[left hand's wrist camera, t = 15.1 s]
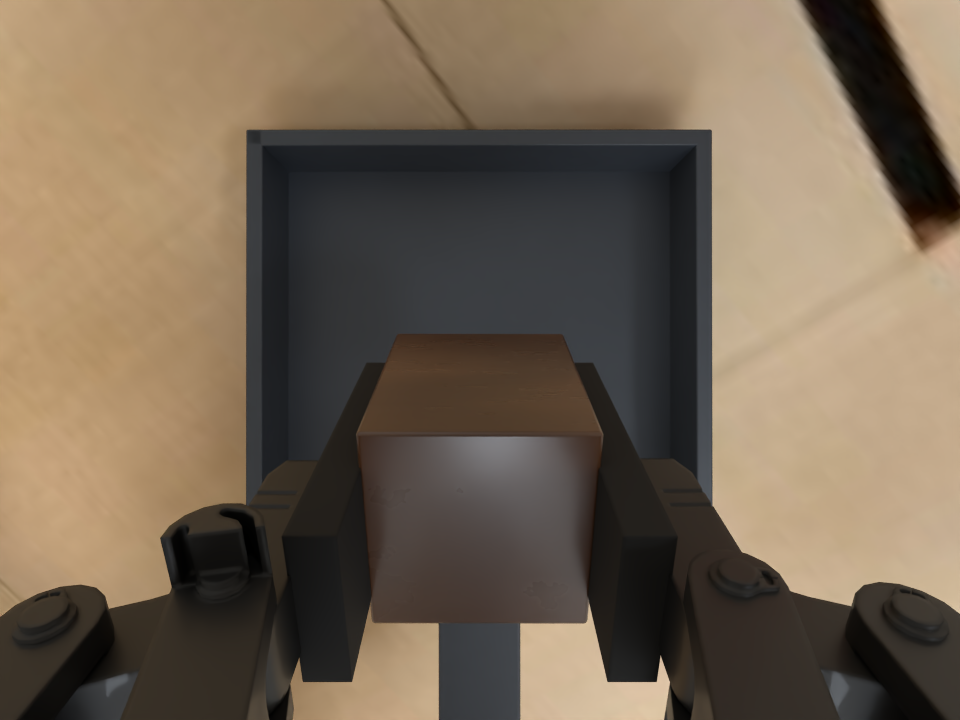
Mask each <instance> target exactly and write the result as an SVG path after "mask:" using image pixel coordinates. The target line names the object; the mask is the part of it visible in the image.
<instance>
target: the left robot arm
mask: <svg viewBox="0 0 960 720" xmlns="http://www.w3.org/2000/svg"><path fill="white" fill-rule="evenodd" d="M384 365H385V363H366V365H365V367H364V369H363V371H362V373H361V375H360V377H359V379H358V381H357V383H356V385H355V387H354V389H353V391H352V393H351V395H350V397H349V399H348V401H347V404H346V406H345V408H344V410H343V412H342V414H341V416H340V418H339V420H338V422H337V424H336V426H335V428H334V430H333V432H332V434H331V436H330V438H329V440H328V442H327V444H326V447H325V449H324V451H323V453H322V455H321V457H320V459H319V460H287V461H285V462H284V463H283V464H281V465H280V466H279V467H277V468H276V469H274V470H273V471H272V472H270V473H269V474H268V475H267V476H266V478H265V480H264V481H263V483H262V484H261V486H260V488H259V489H258V491H257V495H255V496H254V497H253V499H252V501H251V502H250V504H249V506H248V505H244V504H219V505H214V506H209V507H204V508H202V509H199V510H197V511H194V512H192V513H190V514H187V515H185V516H183V517H182V518H181V519H179V520H178V521H176V522H175V523H173V524H172V525H170V526H169V528H168V529H167V530H166V531H165V533H164V534H163V535H162V537H161V538H160V539H161V543H162V548H163V552H164V556H165V560H166V564H167V569H168V573H169V577H170V581H171V585H172V589H171V591H170V594H167V595H164V596H161V597H157V598H154V599H151V600H146V601H142V602H137V603H133V604H128V605H124V606H120V607H115V608H111V609H109V608H108V605H107V601H106V598H105V596H104V595H103V594H102V593H101V592H100V591H99V590H98V589H97V588H95V587H90V586H85V585H73V586H63V587H58V588H55V589H52V590H49V591H45V592H42V593H39V594H37V595H35V596H33V597H31V598H29V599H27V600H25V601H23V602H21V603H19V604H17V605H15V606H14V607H13V608H11V609H10V610H9V611H8V612H6V613H5V614H4V615H2V616H1V617H0V720H293V710H294V707H293V699H292V692H291V686H290V682H291V679H292V676H293V674H294V671H295V668H296V665H297V662H298V659H299V658H300V665H301V672H302V679H303V682H352V680H353V675H354V671H355V667H356V662H357V658H358V654H359V649H360V645H361V641H362V636H363V632H364V628H365V623H366V619H367V615H368V610H369V606H370V602H371V585H370V573H369V561H368V549H367V538H366V526H365V514H364V502H363V491H362V479H361V468H359V463H358V452H357V440H356V434H357V431H358V429H359V426H360V424H361V421H362V419H363V416H364V414H365V411H366V409H367V407H368V404H369V402H370V399H371V397H372V394H373V392H374V389H375V387H376V385H377V382H378V380H379V377H380V375H381V372H382V370H383V367H384ZM575 366H576V368H577V371H578V373H579V375H580V378H581V380H582V383H583V385H584V388H585V390H586V393H587V395H588V398H589V400H590V403H591V405H592V408H593V410H594V413H595V415H596V418H597V420H598V423H599V425H600V428H601V430H602V433H603V446H602V457H601V467H600V468H599V474H598V485H597V497H596V509H595V521H594V533H593V544H592V556H591V568H590V580H589V592H588V599H589V604H590V608H591V612H592V617H593V621H594V625H595V630H596V634H597V638H598V643H599V647H600V651H601V655H602V660H603V664H604V668H605V673H606V677H607V681H608V682H657V676H658V669H659V662H660V655H661V657H662V660H663V663H664V666H665V669H666V672H667V675H668V678H669V681H670V686H669V692H668V699H667V705H666V711H665V718H664V720H960V614H959V613H958V612H956V611H955V610H954V609H952V608H951V607H950V606H948V605H947V604H946V603H944V602H942V601H940V600H939V599H937V598H935V597H933V596H931V595H929V594H927V593H925V592H923V591H920V590H917V589H914V588H910V587H907V586H904V585H901V584H893V583H883V582H877V583H872V584H868V585H864V586H863V587H861V588H860V589H859V590H858V591H857V592H856V593H855V596H854V599H853V603H852V606H847V605H842V604H838V603H834V602H829V601H825V600H820V599H816V598H811V597H807V596H804V595H801V594H797V593H794V592H791V591H790V590H789V588H788V586H787V584H786V583H785V581H784V580H783V579H782V577H781V576H780V574H779V573H778V572H776V571H775V570H774V569H773V568H771V567H770V566H769V565H768V564H766V563H765V562H763V561H761V560H759V559H757V558H755V557H753V556H750V555H748V554H745V553H742V552H741V550H740V549H739V547H738V545H737V544H736V542H735V541H734V539H733V537H732V536H731V534H730V533H729V531H728V529H727V528H726V526H725V525H724V523H723V521H722V520H721V518H720V517H719V515H718V513H717V512H716V510H715V508H714V507H711V502H710V500H709V499H708V497H707V496H706V494H705V493H703V491H702V490H703V489H702V488H701V486H700V484H699V483H698V481H697V479H696V478H695V476H694V475H693V473H692V472H691V471H689V470H688V469H687V468H685V467H684V466H682V465H681V464H680V463H678V462H677V461H676V460H674V459H673V458H639V456H638V454H637V452H636V450H635V447H634V445H633V443H632V441H631V439H630V437H629V435H628V433H627V431H626V429H625V427H624V425H623V423H622V421H621V419H620V417H619V415H618V413H617V411H616V409H615V406H614V404H613V402H612V400H611V398H610V396H609V394H608V392H607V390H606V388H605V386H604V384H603V382H602V380H601V378H600V376H599V374H598V372H597V370H596V368H595V365H594V363H575Z"/></svg>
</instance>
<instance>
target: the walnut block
mask: <svg viewBox="0 0 960 720" xmlns="http://www.w3.org/2000/svg"><path fill="white" fill-rule="evenodd" d="M356 440H357V452H358V463H359V468H361V479H362V491H363V502H364V514H365V526H366V538H367V549H368V561H369V573H370V585H371V602H370V605H371V617H372V621H373V622H374V623H586V622H587V618H588V606H589V599H588V592H589V580H590V568H591V556H592V544H593V533H594V521H595V509H596V497H597V485H598V474H599V468H600V467H601V457H602V446H603V433H602V430H601V428H600V425H599V423H598V420H597V418H596V415H595V413H594V410H593V408H592V405H591V403H590V400H589V398H588V395H587V393H586V390H585V388H584V385H583V383H582V380H581V378H580V375H579V373H578V371H577V368H576V366H575V363H574V361H573V358H572V356H571V353H570V351H569V348H568V346H567V343H566V341H565V338H564V336H563V335H562V334H397V336H396V338H395V341H394V343H393V345H392V348H391V350H390V353H389V355H388V358H387V360H386V363H385V365H384V367H383V370H382V372H381V375H380V377H379V380H378V382H377V385H376V387H375V389H374V392H373V394H372V397H371V399H370V402H369V404H368V407H367V409H366V411H365V414H364V416H363V419H362V421H361V424H360V426H359V429H358V431H357V434H356Z"/></svg>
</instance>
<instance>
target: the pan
mask: <svg viewBox="0 0 960 720" xmlns="http://www.w3.org/2000/svg"><path fill="white" fill-rule="evenodd" d="M397 334H562V335H563V336H564V338H565V341H566V343H567V346H568V348H569V351H570V353H571V356H572V358H573V361H574V363H594V365H595V368H596V370H597V372H598V374H599V376H600V378H601V380H602V382H603V384H604V386H605V388H606V390H607V392H608V394H609V396H610V398H611V400H612V402H613V404H614V406H615V409H616V411H617V413H618V415H619V417H620V419H621V421H622V423H623V425H624V427H625V429H626V431H627V433H628V435H629V437H630V439H631V441H632V443H633V445H634V447H635V450H636V452H637V454H638V456H639V458H673V459H674V460H676V461H677V462H678V463H680V464H681V465H682V466H684V467H685V468H687V469H688V470H689V471H691V472H692V473H693V475H694V476H695V478H696V479H697V481H698V483H699V484H700V486H701V488H702V489H703V490H702V491H703V493H705V494H706V496H707V497H708V499H709V500H710V502H711V507H712V131H711V130H247V241H246V505H248V506H249V504H250V502H251V501H252V499H253V497H254V496H255V495H257V491H258V489H259V488H260V486H261V484H262V483H263V481H264V480H265V478H266V476H267V475H268V474H269V473H270V472H272V471H273V470H274V469H276V468H277V467H279V466H280V465H281V464H283V463H284V462H285V461H287V460H319V459H320V457H321V455H322V453H323V451H324V449H325V447H326V444H327V442H328V440H329V438H330V436H331V434H332V432H333V430H334V428H335V426H336V424H337V422H338V420H339V418H340V416H341V414H342V412H343V410H344V408H345V406H346V404H347V401H348V399H349V397H350V395H351V393H352V391H353V389H354V387H355V385H356V383H357V381H358V379H359V377H360V375H361V373H362V371H363V369H364V367H365V365H366V363H386V360H387V358H388V355H389V353H390V350H391V348H392V345H393V343H394V341H395V338H396V336H397ZM439 720H520V623H439Z"/></svg>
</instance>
